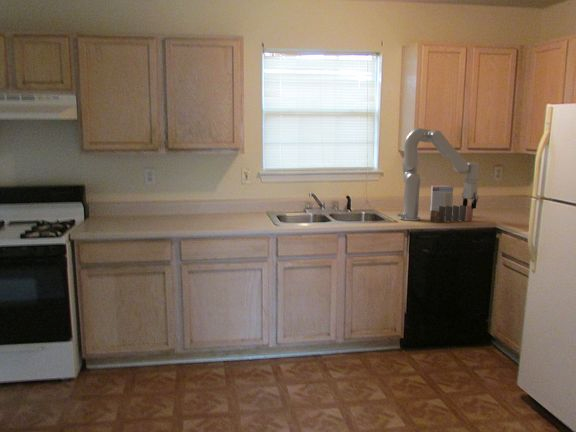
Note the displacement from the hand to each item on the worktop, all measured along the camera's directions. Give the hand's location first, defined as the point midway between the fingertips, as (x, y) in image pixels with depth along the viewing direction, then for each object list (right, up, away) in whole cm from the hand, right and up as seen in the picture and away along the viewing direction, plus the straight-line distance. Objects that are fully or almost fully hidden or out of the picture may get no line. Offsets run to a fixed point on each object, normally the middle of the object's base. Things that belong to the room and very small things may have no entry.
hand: (469, 207), depth 337 cm
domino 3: (-9, -9, -1) cm, 13 cm away
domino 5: (0, -9, +2) cm, 9 cm away
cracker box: (-13, -6, +21) cm, 25 cm away
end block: (-24, -10, -4) cm, 26 cm away
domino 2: (-14, -9, -2) cm, 17 cm away
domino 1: (-19, -9, -3) cm, 22 cm away
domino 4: (-4, -9, 0) cm, 10 cm away
